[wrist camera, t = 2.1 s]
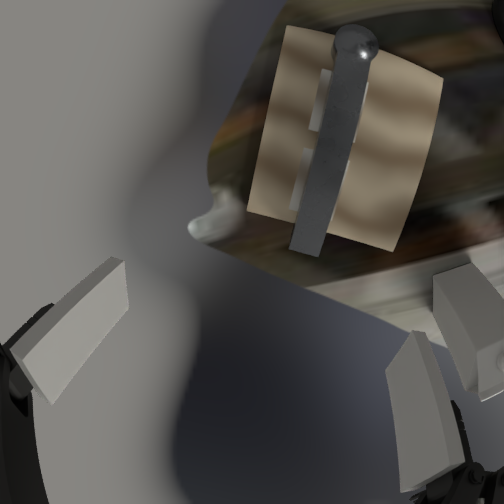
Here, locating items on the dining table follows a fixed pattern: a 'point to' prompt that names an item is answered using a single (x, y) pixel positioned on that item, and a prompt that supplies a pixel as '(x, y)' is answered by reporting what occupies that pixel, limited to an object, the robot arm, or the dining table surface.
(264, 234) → the dining table surface
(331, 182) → the swing arm
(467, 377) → the milk carton
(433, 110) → the label board
